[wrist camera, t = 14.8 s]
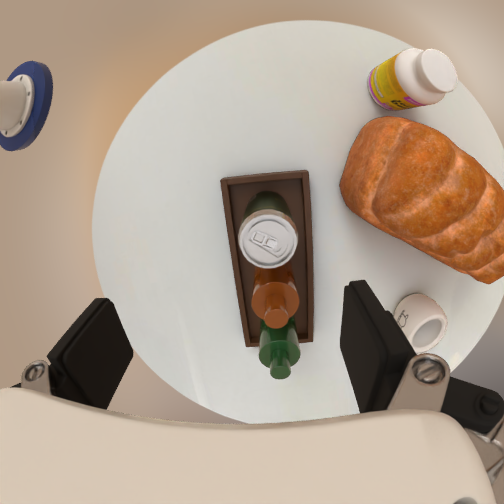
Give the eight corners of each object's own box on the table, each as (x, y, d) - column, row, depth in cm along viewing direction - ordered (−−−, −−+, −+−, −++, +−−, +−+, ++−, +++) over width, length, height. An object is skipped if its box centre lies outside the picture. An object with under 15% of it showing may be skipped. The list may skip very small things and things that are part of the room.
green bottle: (261, 329, 41) (260, 387, 30) (258, 302, 40) (255, 359, 28) (294, 327, 41) (302, 384, 30) (293, 299, 39) (302, 355, 28)
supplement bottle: (371, 111, 29) (421, 99, 17) (360, 66, 27) (403, 35, 15) (412, 111, 28) (469, 104, 16) (402, 68, 26) (454, 45, 14)
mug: (405, 280, 38) (428, 306, 31) (436, 294, 39) (458, 319, 31) (367, 337, 42) (381, 368, 35) (400, 346, 43) (415, 374, 36)
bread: (453, 266, 37) (507, 313, 22) (327, 201, 34) (369, 241, 20) (485, 195, 31) (549, 222, 17) (365, 107, 29) (429, 89, 15)
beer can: (239, 220, 35) (227, 256, 24) (256, 182, 33) (252, 201, 22) (276, 237, 36) (282, 279, 25) (295, 200, 34) (310, 228, 23)
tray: (246, 338, 43) (245, 347, 41) (222, 177, 34) (220, 179, 32) (311, 333, 42) (313, 342, 40) (305, 169, 33) (308, 171, 31)
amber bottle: (256, 285, 38) (253, 340, 27) (252, 251, 37) (247, 299, 25) (293, 282, 38) (302, 336, 27) (291, 248, 36) (302, 294, 25)
